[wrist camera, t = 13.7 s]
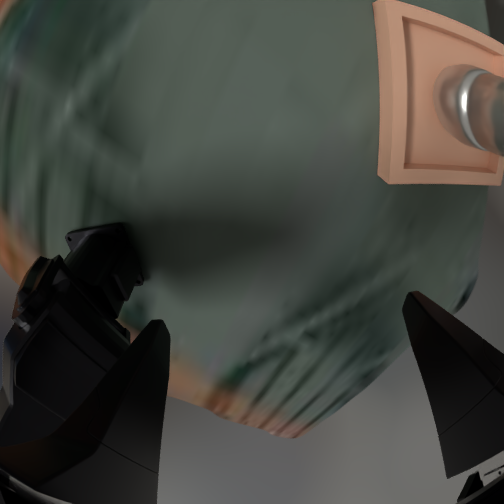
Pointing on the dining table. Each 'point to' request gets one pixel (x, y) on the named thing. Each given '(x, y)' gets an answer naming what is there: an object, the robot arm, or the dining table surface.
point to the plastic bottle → (471, 106)
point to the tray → (427, 96)
